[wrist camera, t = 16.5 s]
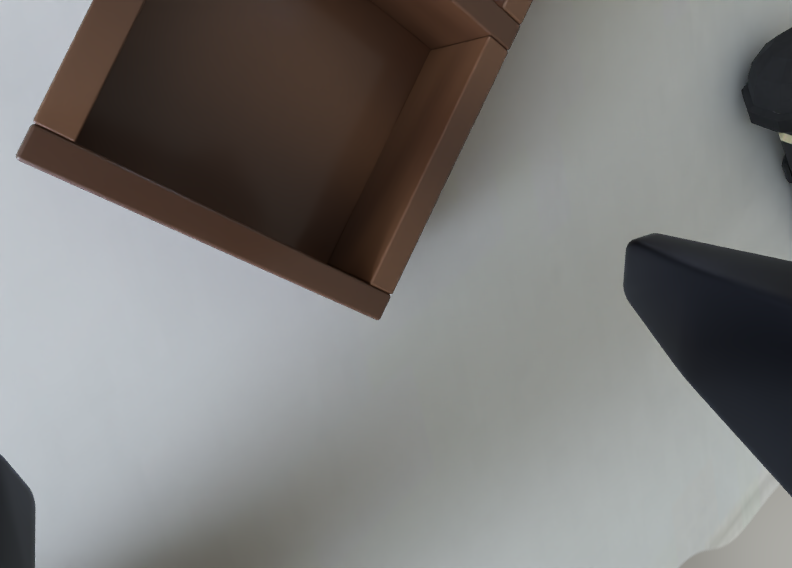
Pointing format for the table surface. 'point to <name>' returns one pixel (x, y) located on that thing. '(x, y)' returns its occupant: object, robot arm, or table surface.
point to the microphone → (773, 92)
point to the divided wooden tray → (277, 124)
